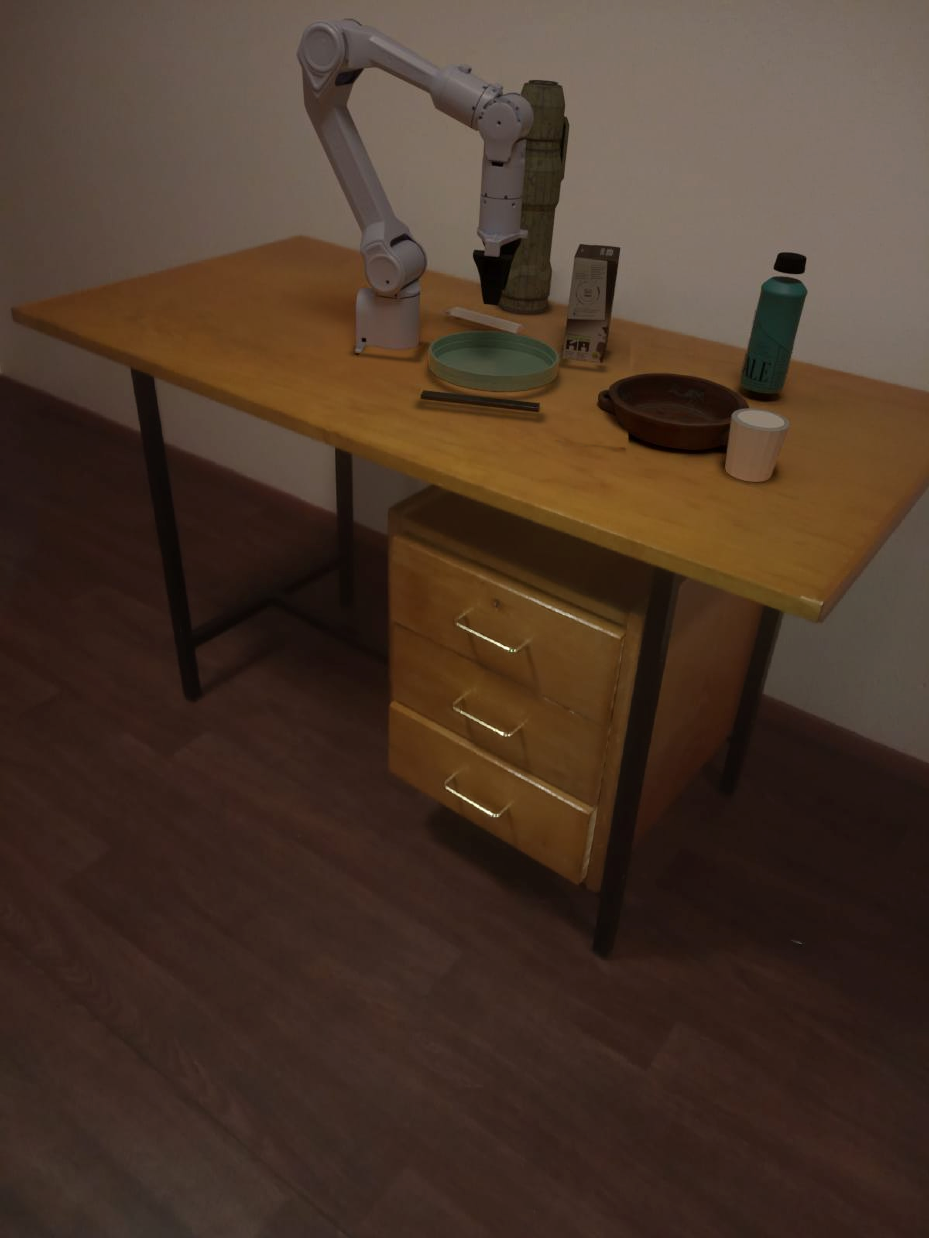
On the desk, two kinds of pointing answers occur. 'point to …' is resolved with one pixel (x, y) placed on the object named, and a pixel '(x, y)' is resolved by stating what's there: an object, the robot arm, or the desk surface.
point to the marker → (485, 319)
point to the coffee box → (591, 302)
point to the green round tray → (493, 361)
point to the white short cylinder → (755, 443)
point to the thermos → (538, 199)
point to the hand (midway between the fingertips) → (494, 296)
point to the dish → (673, 409)
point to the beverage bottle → (775, 327)
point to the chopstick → (480, 401)
